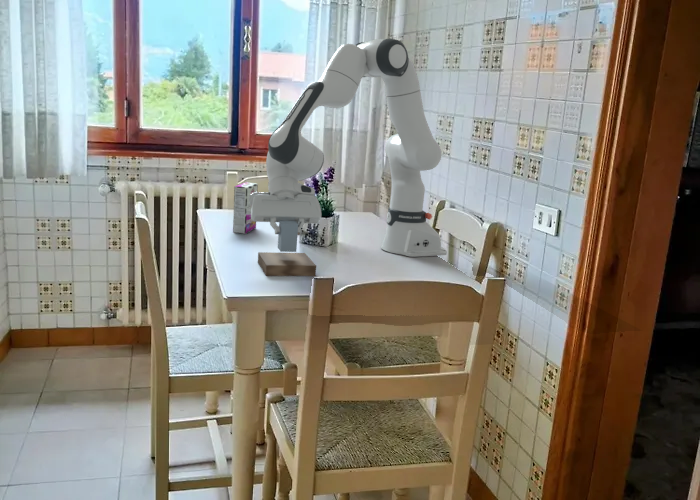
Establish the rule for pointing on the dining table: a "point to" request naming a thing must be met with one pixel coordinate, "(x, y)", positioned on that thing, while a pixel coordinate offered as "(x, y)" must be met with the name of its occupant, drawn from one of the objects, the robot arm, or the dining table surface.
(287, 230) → the slate block
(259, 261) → the block
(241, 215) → the candy bar box
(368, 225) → the dining table surface
